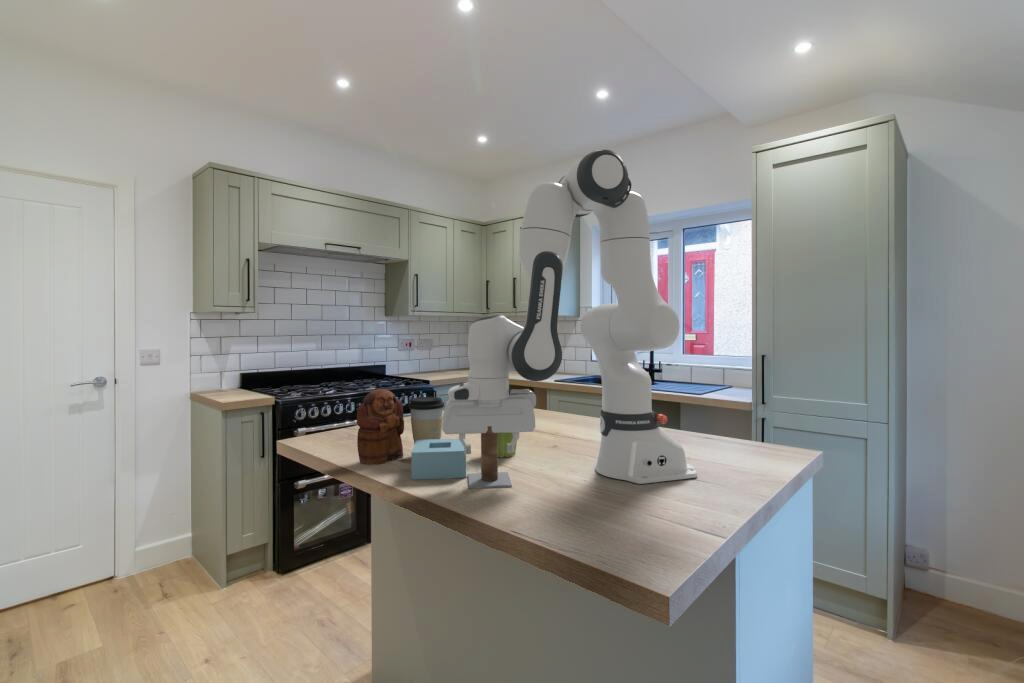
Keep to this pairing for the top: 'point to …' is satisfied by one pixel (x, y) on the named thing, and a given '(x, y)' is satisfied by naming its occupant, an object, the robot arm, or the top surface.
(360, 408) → the wooden figurine
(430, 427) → the coffee cup
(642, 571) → the top surface
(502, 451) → the plant pot
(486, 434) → the peg
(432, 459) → the socket
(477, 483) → the pad
